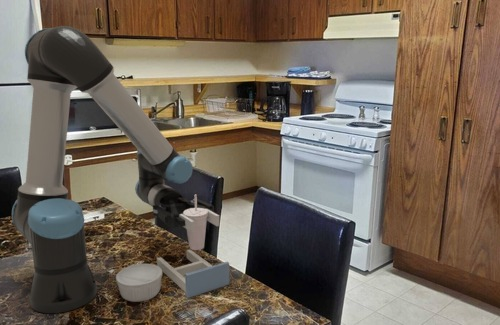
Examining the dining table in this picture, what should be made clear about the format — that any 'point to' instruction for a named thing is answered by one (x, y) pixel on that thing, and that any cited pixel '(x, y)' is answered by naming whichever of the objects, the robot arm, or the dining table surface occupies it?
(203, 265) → the drawer frame
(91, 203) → the dining table surface
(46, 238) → the robot arm
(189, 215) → the smoothie
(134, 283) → the ramekin
